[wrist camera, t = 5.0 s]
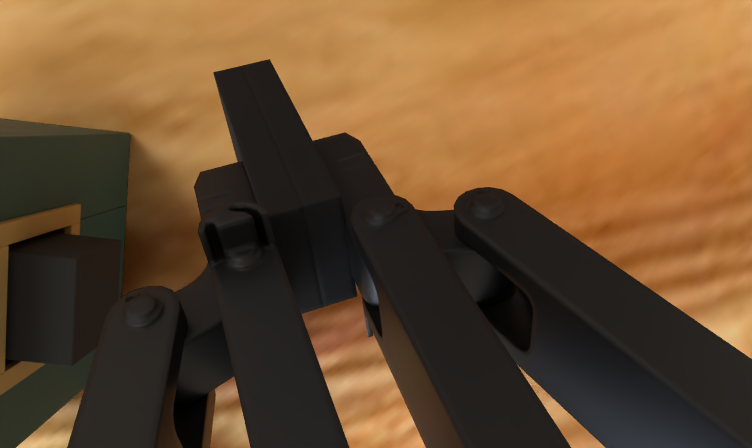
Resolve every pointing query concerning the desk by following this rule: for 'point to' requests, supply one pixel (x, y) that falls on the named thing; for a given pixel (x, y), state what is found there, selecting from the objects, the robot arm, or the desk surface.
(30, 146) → the teal green box
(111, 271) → the button
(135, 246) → the desk surface
